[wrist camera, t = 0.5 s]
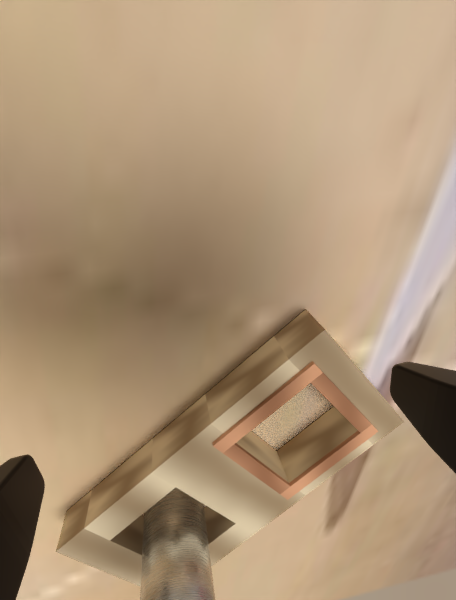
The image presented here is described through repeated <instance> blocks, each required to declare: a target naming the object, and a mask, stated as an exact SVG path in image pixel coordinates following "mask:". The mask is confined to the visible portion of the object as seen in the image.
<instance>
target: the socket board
mask: <svg viewBox="0 0 456 600" xmlns="http://www.w3.org/2000/svg"><path fill="white" fill-rule="evenodd" d="M310 383H312V384H313V385H314V386H315V387H316V388H317V389H318V390H319V392H320V393H321V394H322V395H323V396H324V397H325V398H326V399H327V400H328V401H329V402H330V403H331V404H332V405H333V406H334V407H332V408H331V409H330V410H328V411H327V412H326V413H325V414H323V415H322V416H321V417H319V418H318V419H317V420H316V421H314V422H313V423H312V424H311V425H309V426H308V427H307V428H305V429H304V430H303V431H302V432H300V433H299V434H298V435H297V436H295V437H294V438H293V439H291V440H290V441H289V442H288V443H286V444H285V445H284V446H283V447H281V448H280V449H279V450H277V451H276V450H275V449H273V448H272V447H271V446H270V445H268V444H267V443H266V442H265V441H263V440H262V439H261V438H260V437H258V436H257V435H256V434H255V433H253V432H252V431H251V430H253V429H254V428H255V427H256V426H258V425H259V424H260V423H261V422H262V421H264V420H265V419H266V418H267V417H269V416H270V415H271V414H272V413H274V412H275V411H276V410H277V409H279V408H280V407H281V406H282V405H284V404H285V403H286V402H287V401H289V400H290V399H291V398H292V397H294V396H295V395H296V394H297V393H298V392H300V391H301V390H302V389H303V388H305V387H306V386H307V385H308V384H310ZM403 422H404V421H403V420H402V418H401V417H400V416H399V415H398V414H397V413H396V412H395V410H394V409H393V408H392V407H391V406H390V405H389V403H388V402H387V401H386V400H385V399H384V398H383V396H382V395H381V394H380V393H379V392H378V391H377V389H376V388H375V387H374V386H373V385H372V384H371V382H370V381H369V380H368V379H367V378H366V377H365V375H364V374H363V373H362V372H361V371H360V370H359V369H358V367H357V366H356V365H355V364H354V363H353V362H352V360H351V359H350V358H349V357H348V356H347V355H346V353H345V352H344V351H343V350H342V349H341V348H340V346H339V345H338V344H337V343H336V342H335V341H334V339H333V338H332V337H331V336H330V335H329V334H328V333H327V331H326V330H325V329H324V328H323V327H322V326H321V325H320V324H319V323H318V322H317V321H316V320H315V319H314V317H313V316H312V315H311V314H310V313H309V312H308V311H307V310H306V309H305V310H304V311H303V312H302V313H301V314H300V315H298V316H297V317H296V318H295V319H294V320H292V321H291V322H290V323H289V324H288V325H287V326H285V327H284V328H283V329H282V330H281V331H279V332H278V333H277V334H276V335H275V336H273V337H272V338H271V339H270V340H269V341H268V342H266V343H265V344H264V345H263V346H262V347H260V348H259V349H258V350H257V351H256V352H255V353H253V354H252V355H251V356H250V357H249V358H247V359H246V360H245V361H244V362H243V363H241V364H240V365H239V366H238V367H237V368H236V369H234V370H233V371H232V372H231V373H230V374H228V375H227V376H226V377H225V378H224V379H223V380H221V381H220V382H219V383H218V384H217V385H215V386H214V387H213V388H212V389H211V390H209V391H208V392H207V393H206V394H205V395H204V396H202V397H201V398H200V399H199V400H198V401H196V402H195V403H194V404H193V405H192V406H191V407H189V408H188V409H187V410H186V411H185V412H183V413H182V414H181V415H180V416H179V417H177V418H176V419H175V420H174V421H173V422H172V423H170V424H169V425H168V426H167V427H166V428H164V429H163V430H162V431H161V432H160V433H159V434H157V435H156V436H155V437H154V438H153V439H151V440H150V441H149V442H148V443H147V444H146V445H144V446H143V447H142V448H141V449H140V450H138V451H137V452H136V453H135V454H134V455H132V456H131V457H130V458H129V459H128V460H127V461H125V462H124V463H123V464H122V465H121V466H119V467H118V468H117V469H116V470H115V471H114V472H112V473H111V474H110V475H109V476H108V477H106V478H105V479H104V480H103V481H102V482H100V483H99V484H98V485H97V486H96V487H95V488H93V489H92V490H91V491H90V492H89V493H87V494H86V495H85V496H84V497H83V498H82V499H80V500H79V501H78V502H77V503H76V504H74V505H73V506H72V507H71V508H70V509H68V510H67V512H66V516H65V519H64V523H63V527H62V531H61V534H60V538H59V542H58V546H57V549H56V552H57V553H60V554H62V555H65V556H67V557H70V558H72V559H74V560H77V561H79V562H82V563H84V564H87V565H89V566H91V567H94V568H96V569H99V570H101V571H104V572H106V573H108V574H111V575H113V576H116V577H118V578H121V579H123V580H125V581H128V582H130V583H133V584H135V585H138V586H140V587H141V569H142V548H143V528H144V517H143V516H141V515H142V514H143V513H145V512H146V511H147V510H148V509H149V508H151V507H152V506H153V505H154V504H156V503H157V502H158V501H159V500H161V499H162V498H163V497H164V496H166V495H167V494H168V493H169V492H171V491H172V490H173V489H174V488H175V487H176V488H178V489H180V490H181V491H183V492H185V493H186V494H188V495H189V496H191V497H193V498H194V499H196V500H198V501H199V502H201V503H203V504H204V505H206V507H205V508H204V512H205V520H206V528H207V536H208V544H209V553H210V561H211V566H213V565H214V564H215V563H217V562H218V561H219V560H221V559H222V558H223V557H225V556H226V555H227V554H229V553H230V552H231V551H233V550H234V549H235V548H237V547H238V546H239V545H241V544H242V543H243V542H245V541H246V540H247V539H249V538H250V537H251V536H253V535H254V534H255V533H257V532H258V531H259V530H261V529H262V528H263V527H265V526H266V525H267V524H269V523H270V522H271V521H273V520H274V519H275V518H277V517H278V516H279V515H281V514H282V513H283V512H285V511H286V510H287V509H289V508H290V507H291V506H293V505H294V504H295V503H297V502H298V501H299V500H301V499H302V498H303V497H305V496H306V495H307V494H309V493H310V492H311V491H313V490H314V489H315V488H317V487H318V486H319V485H321V484H322V483H323V482H325V481H326V480H327V479H329V478H330V477H331V476H333V475H334V474H335V473H337V472H338V471H339V470H341V469H342V468H343V467H345V466H346V465H347V464H348V463H350V462H351V461H352V460H354V459H355V458H356V457H358V456H359V455H360V454H362V453H363V452H364V451H366V450H367V449H368V448H370V447H371V446H372V445H374V444H375V443H376V442H378V441H379V440H380V439H382V438H383V437H384V436H386V435H387V434H388V433H390V432H391V431H392V430H394V429H395V428H396V427H398V426H399V425H400V424H402V423H403Z"/></svg>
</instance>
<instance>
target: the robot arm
mask: <svg viewBox="0 0 456 600" xmlns="http://www.w3.org/2000/svg"><path fill="white" fill-rule="evenodd" d="M390 393H391V396H392V398H393V400H394V402H395V403H396V404H397V405H398V407H399V408H400V409H401V411H402V412H403V413H404V414H405V416H406V417H407V418H408V419H409V421H410V422H411V423H412V425H413V426H414V427H415V428H416V430H417V431H418V432H419V434H420V435H421V436H422V437H423V439H424V440H425V441H426V442H427V443H428V445H429V446H430V447H431V448H432V449H433V450H434V451H435V452H436V453H437V454H438V455H439V457H440V458H441V459H442V460H443V461H444V462H445V463H446V464H447V465H448V466H449V467H450V468H451V469H452V470H453V471H454V472H455V473H456V371H454V370H449V369H443V368H438V367H433V366H428V365H423V364H418V363H413V362H404V363H400V364H396V365H394V366H393V368H392V374H391V384H390ZM43 494H44V479H43V477H42V475H41V473H40V471H39V469H38V467H37V465H36V463H35V461H34V459H33V458H32V457H31V456H30V455H23V456H19V457H14V458H11V459H9V460H8V461H6V462H5V463H4V464H2V465H1V466H0V600H16V597H17V594H18V591H19V588H20V585H21V582H22V579H23V576H24V573H25V570H26V566H27V563H28V560H29V556H30V552H31V548H32V544H33V540H34V535H35V531H36V526H37V522H38V517H39V512H40V508H41V503H42V499H43Z"/></svg>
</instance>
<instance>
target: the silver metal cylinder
mask: <svg viewBox="0 0 456 600" xmlns="http://www.w3.org/2000/svg"><path fill="white" fill-rule="evenodd" d="M140 600H215V594H214V586H213V577H212V569H211V561H210V553H209V544H208V536H207V528H206V520H205V512H204V504H203V503H201V502H199V501H198V500H196V499H194V498H193V497H191V496H189V495H188V494H186V493H185V492H183V491H181V490H180V489H178V488H176V487H175V488H174V489H173V490H172V491H171V492H169V493H168V494H167V495H166V496H164V497H163V498H162V499H161V500H159V501H158V502H157V503H156V504H154V505H153V506H152V507H151V508H149V509H148V510H147V511H146V512H145V513H144V528H143V548H142V569H141V590H140Z"/></svg>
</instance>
